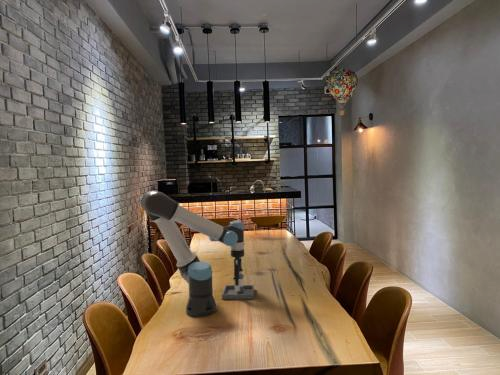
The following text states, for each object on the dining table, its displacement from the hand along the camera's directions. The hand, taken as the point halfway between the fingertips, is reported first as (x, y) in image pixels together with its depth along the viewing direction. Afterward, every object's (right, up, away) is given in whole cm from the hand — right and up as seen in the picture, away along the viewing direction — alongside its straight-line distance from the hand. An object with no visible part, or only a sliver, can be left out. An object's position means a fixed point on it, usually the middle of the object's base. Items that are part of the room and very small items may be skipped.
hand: (238, 286), depth 206 cm
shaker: (+1, -4, 0) cm, 4 cm away
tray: (0, -4, 0) cm, 4 cm away
